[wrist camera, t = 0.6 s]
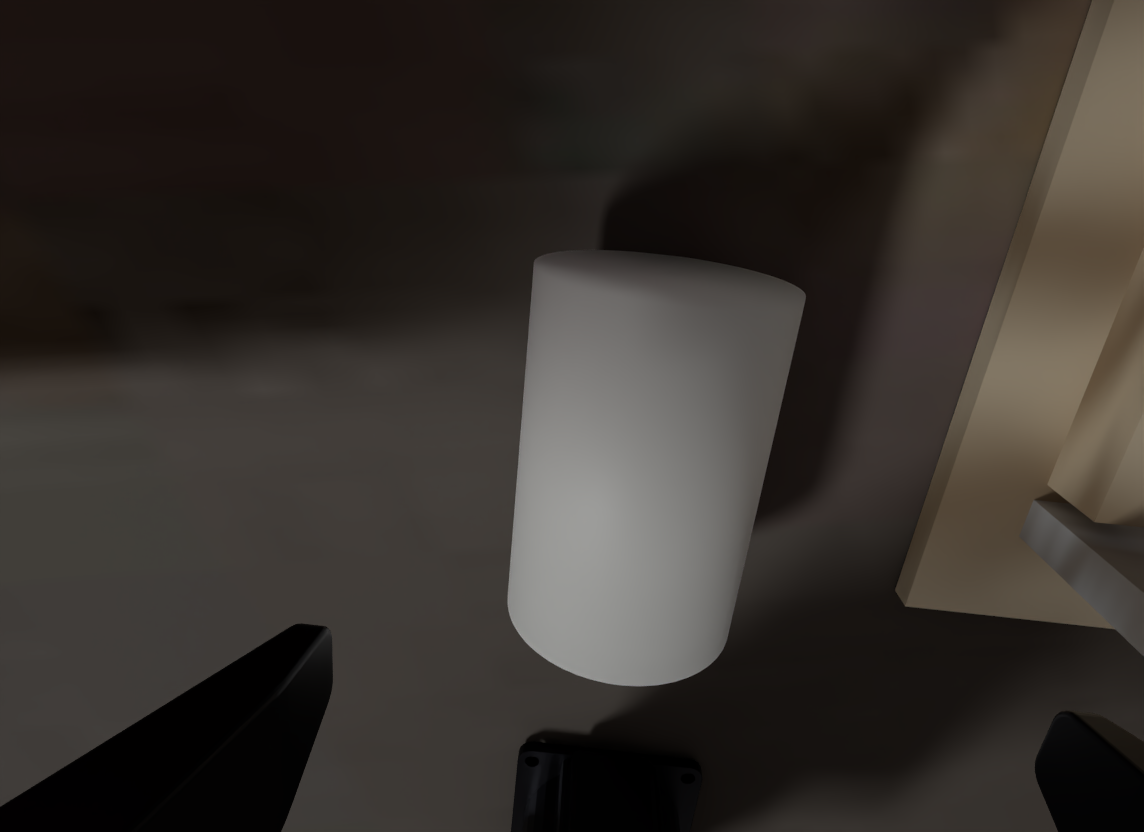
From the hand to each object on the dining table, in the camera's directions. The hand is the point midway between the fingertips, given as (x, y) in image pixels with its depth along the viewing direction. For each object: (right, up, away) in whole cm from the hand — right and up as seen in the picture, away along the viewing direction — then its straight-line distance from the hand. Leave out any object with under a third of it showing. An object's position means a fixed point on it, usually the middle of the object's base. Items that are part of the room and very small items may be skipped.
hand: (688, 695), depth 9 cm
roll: (0, +4, +11) cm, 12 cm away
